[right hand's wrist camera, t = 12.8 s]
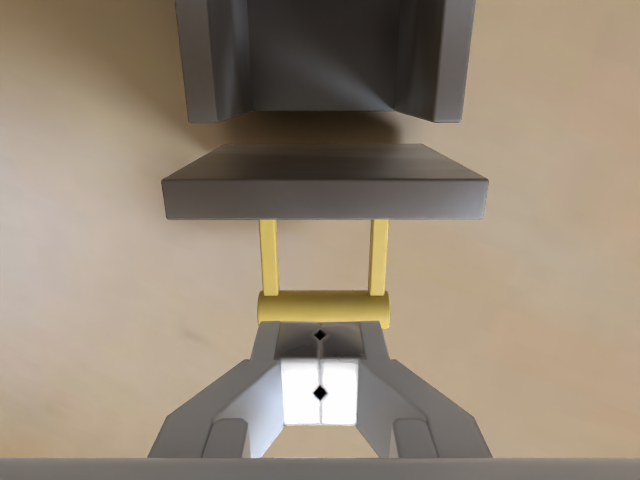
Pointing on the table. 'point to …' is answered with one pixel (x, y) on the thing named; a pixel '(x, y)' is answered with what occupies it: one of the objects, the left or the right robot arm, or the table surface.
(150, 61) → the table surface
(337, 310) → the drawer
